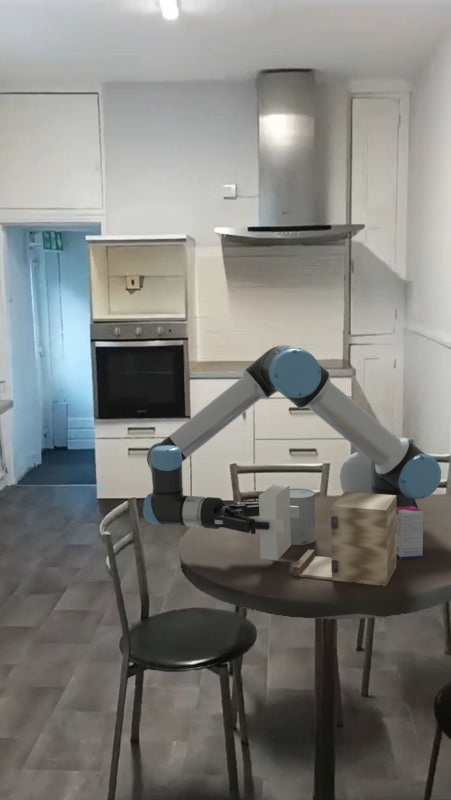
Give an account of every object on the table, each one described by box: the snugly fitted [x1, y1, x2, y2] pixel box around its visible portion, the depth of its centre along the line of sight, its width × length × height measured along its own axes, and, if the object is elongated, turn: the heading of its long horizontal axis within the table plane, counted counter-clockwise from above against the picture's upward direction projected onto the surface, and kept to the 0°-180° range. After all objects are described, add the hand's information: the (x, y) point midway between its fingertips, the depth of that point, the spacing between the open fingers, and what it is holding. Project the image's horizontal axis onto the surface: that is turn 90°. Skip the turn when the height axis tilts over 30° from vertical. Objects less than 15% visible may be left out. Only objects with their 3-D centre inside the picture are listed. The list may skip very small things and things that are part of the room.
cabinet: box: [292, 492, 397, 587], centre depth 183 cm, size 21×14×17 cm
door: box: [258, 483, 292, 561], centre depth 190 cm, size 5×11×15 cm, turn 159°
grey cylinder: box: [290, 488, 316, 546], centre depth 209 cm, size 10×10×12 cm
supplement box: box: [396, 506, 424, 560], centre depth 195 cm, size 6×6×12 cm
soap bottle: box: [339, 448, 371, 494], centre depth 241 cm, size 14×9×26 cm, turn 70°
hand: (291, 518), depth 188 cm, fingers closed on door, 11 cm apart
